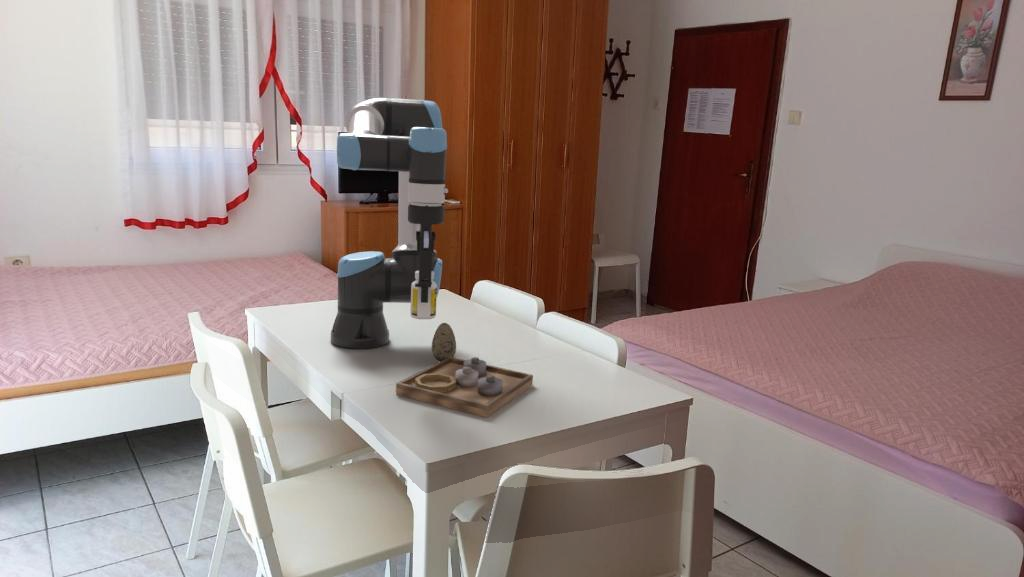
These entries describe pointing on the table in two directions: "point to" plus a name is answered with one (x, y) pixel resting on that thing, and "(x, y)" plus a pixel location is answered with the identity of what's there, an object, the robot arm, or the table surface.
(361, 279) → the robot arm
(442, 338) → the decorative egg
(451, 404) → the carrier
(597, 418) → the table surface
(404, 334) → the table surface
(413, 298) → the supplement bottle
